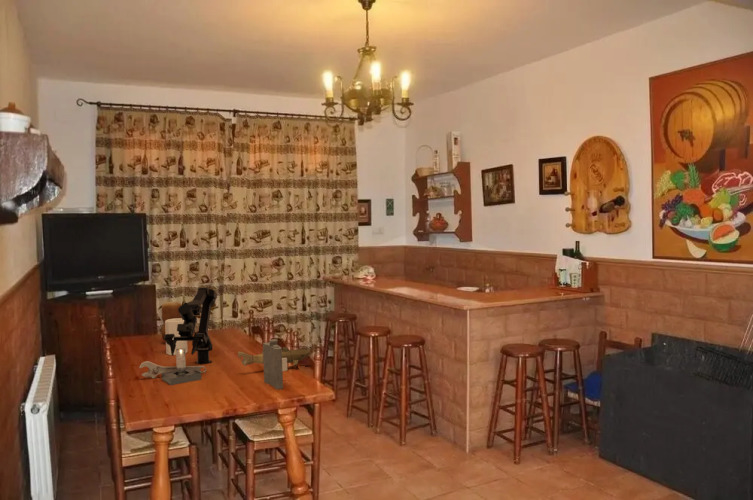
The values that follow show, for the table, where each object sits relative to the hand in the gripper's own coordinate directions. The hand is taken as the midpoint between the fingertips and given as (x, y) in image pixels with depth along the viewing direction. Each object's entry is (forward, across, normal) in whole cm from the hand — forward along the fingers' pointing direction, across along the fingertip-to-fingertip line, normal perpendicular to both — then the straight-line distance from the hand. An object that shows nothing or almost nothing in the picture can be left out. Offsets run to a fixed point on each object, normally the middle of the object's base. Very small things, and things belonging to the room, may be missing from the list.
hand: (181, 354), depth 274 cm
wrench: (+4, -6, +12) cm, 14 cm away
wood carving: (0, +41, +16) cm, 44 cm away
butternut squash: (-48, -34, +65) cm, 88 cm away
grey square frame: (+9, 0, +6) cm, 11 cm away
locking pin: (+9, 0, +7) cm, 11 cm away
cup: (-29, -22, +46) cm, 58 cm away
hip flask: (+17, +45, -1) cm, 48 cm away
